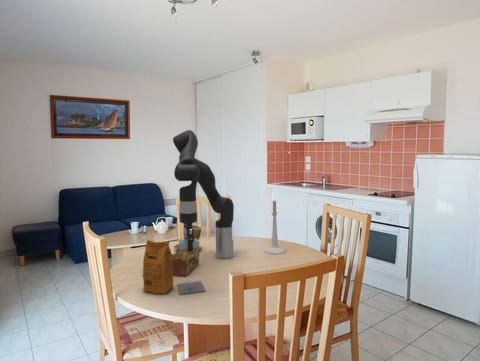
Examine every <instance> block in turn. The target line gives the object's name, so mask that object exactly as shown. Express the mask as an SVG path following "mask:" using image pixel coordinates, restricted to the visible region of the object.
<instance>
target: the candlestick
mask: <svg viewBox="0 0 480 361" xmlns="http://www.w3.org/2000/svg"><path fill="white" fill-rule="evenodd" d="M278 213H279V212H278V211H277V200H272V211H271V214H272V228H271V229H272V231H271V232H272V233H271V245H268V246H266V247H264V249H263V253H265V254H268V255H274V256H276V255H283V254H285V253H286V252H287V250H286V248H285V247H284V246H280V245H279V243H278V242H279V241H278V240H279V239H278V227H277V224H278V223H277V216H278Z"/></svg>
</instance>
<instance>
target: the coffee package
mask: <svg viewBox="0 0 480 361" xmlns="http://www.w3.org/2000/svg"><path fill="white" fill-rule="evenodd" d="M172 255H173V254H172V251H171V248H170V242H169V240H167V241H153V240H151V239H147V240H146V243H145V249H144V255H143V260H142V261H143V263H142V265H143V267H142V279H143V292H145V293H146V292H147V293H151V294H153V295H165V294H167V293H168V292H169V291H170V290H171V289H172V288H174V275H173V263H172V261H173V257H172Z"/></svg>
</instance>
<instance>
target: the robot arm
mask: <svg viewBox="0 0 480 361" xmlns="http://www.w3.org/2000/svg"><path fill="white" fill-rule="evenodd" d="M172 142H173V144H174V147H175V148H176V150H177V151H178V153H179V157H178V163H177V164H176V166H175V167H174V171H173V172H174V173H173V174H174V178H175V179H176V180H177V181H178V182H191V183H190V184H188V185H185V186H181V187H180V188H179V190H178V192H179V204H178V207H179V208H178V210H179V211H178V212H179V214H178V215H179V222H180V223H181V224H183V236H184V235H185V239H187V247H188V252H192V251H193V242H194V226H195V225H193V224H194V223H197V222H198V204H197V185H198V184H199V186H200V188H201V190H202V191H203V193H204V194H205V196H206V198H207V200H208V203H209V204H210V207H211V209H212V210H213V211H214V212H215V213H216V214H220V215H219V219H217V220H216V221H215V226H214V227H215V256H216V258H217V259H221V260H222V259H223V260H224V259H225V260H226V259H230V258H234V256H235V252H234V250H235V249H234V240H233V222H234V211H235V210H234V208H235V206H234V202H233V200H232V198H230V197H223V196H221V194H220V193H219V191H218V190H217V188H216V177H215V174H214V172H213V171H212V169H211V167H210V166H209V165H208V164H207V163H205V162H203V161H201V160H199V159H197V158H195V157H196V156H195V155H196V152H197V149H198V145H199V140H198V138H197V135H196V133H195V132H194V131H193V130H192V129H188V130H185V131H183V132H181V133H179V134H177V135H175V136H174V137H173V138H172ZM190 238H192V240H189V239H190Z"/></svg>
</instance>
